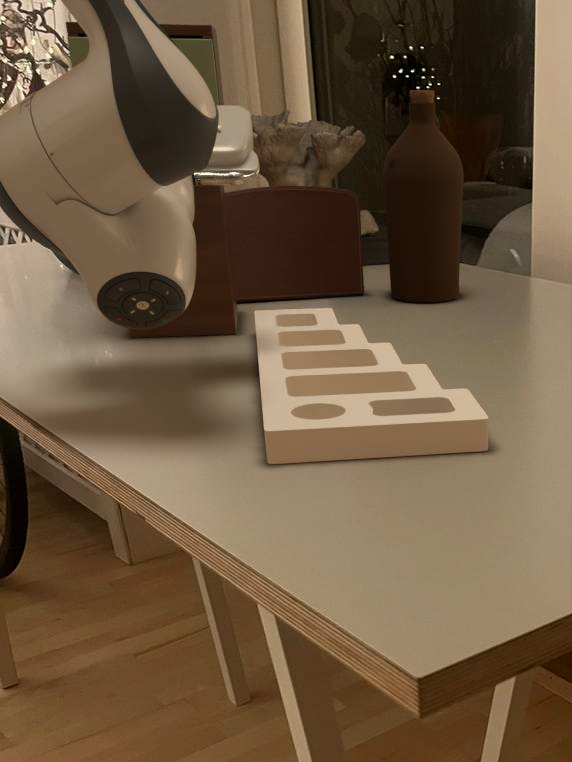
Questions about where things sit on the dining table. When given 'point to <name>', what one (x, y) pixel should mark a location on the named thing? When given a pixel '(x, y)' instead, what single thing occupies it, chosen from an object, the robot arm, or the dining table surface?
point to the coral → (313, 164)
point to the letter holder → (295, 242)
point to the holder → (353, 395)
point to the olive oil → (423, 208)
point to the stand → (201, 235)
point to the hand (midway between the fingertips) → (142, 92)
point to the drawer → (193, 49)
